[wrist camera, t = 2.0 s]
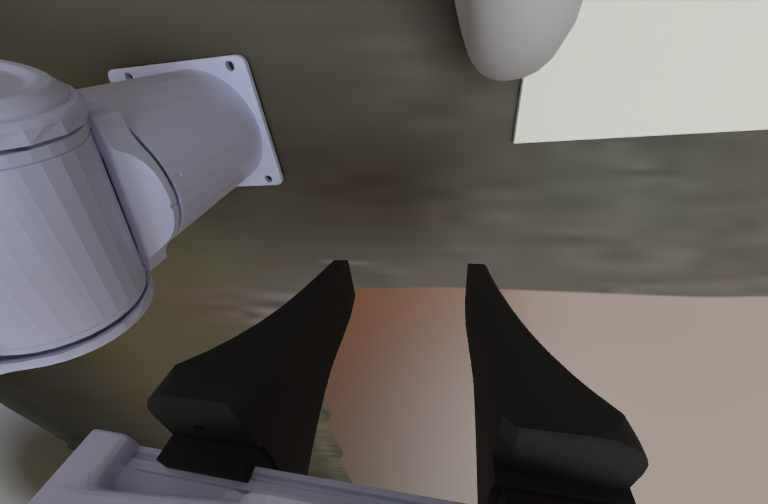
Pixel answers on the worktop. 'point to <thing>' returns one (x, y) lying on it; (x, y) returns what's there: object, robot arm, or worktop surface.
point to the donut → (514, 33)
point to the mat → (651, 72)
